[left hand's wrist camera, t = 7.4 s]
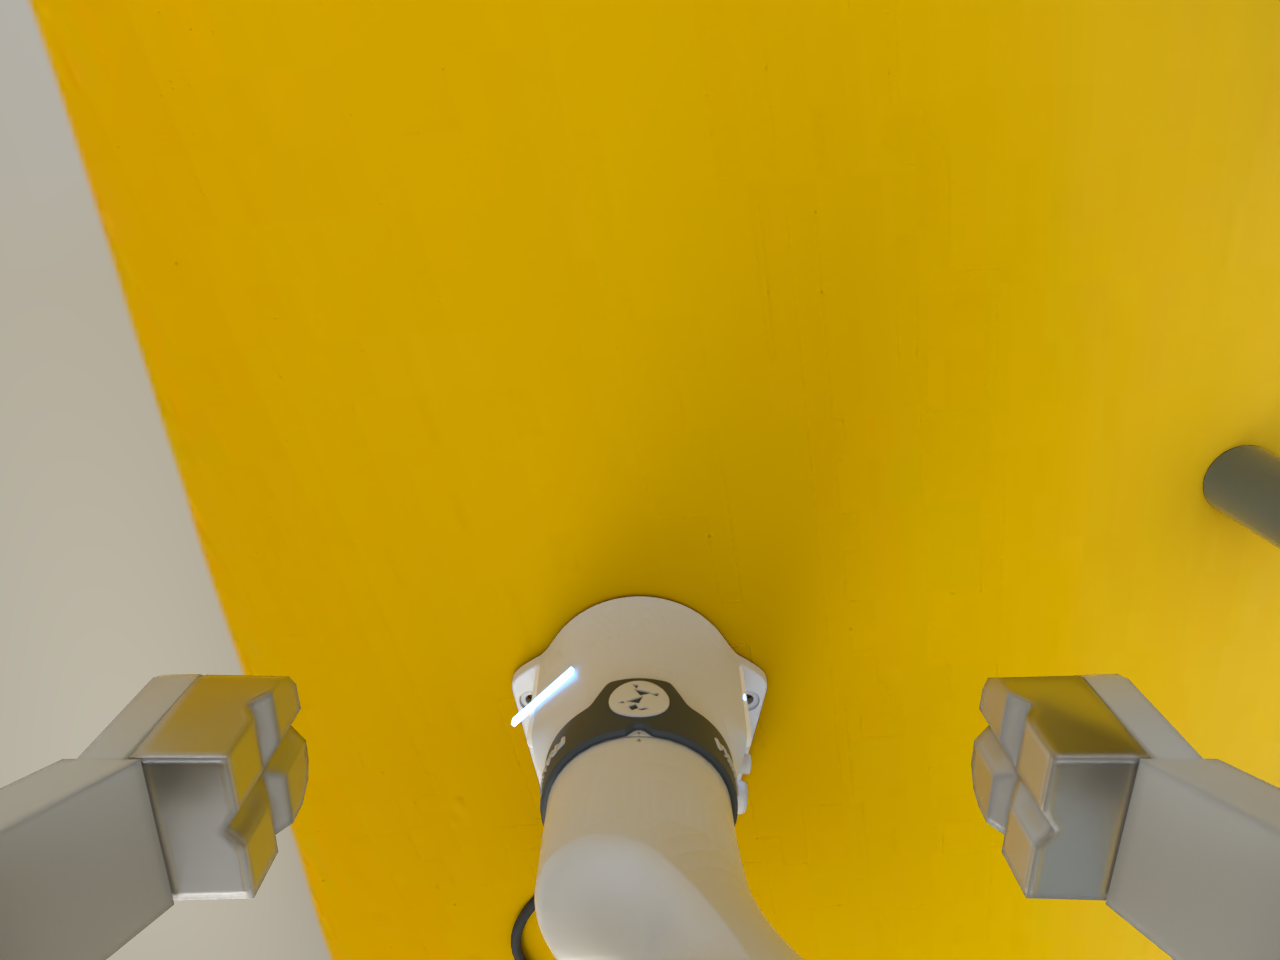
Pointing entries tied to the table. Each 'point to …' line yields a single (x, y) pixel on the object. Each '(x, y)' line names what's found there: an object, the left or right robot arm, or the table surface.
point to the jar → (1247, 489)
